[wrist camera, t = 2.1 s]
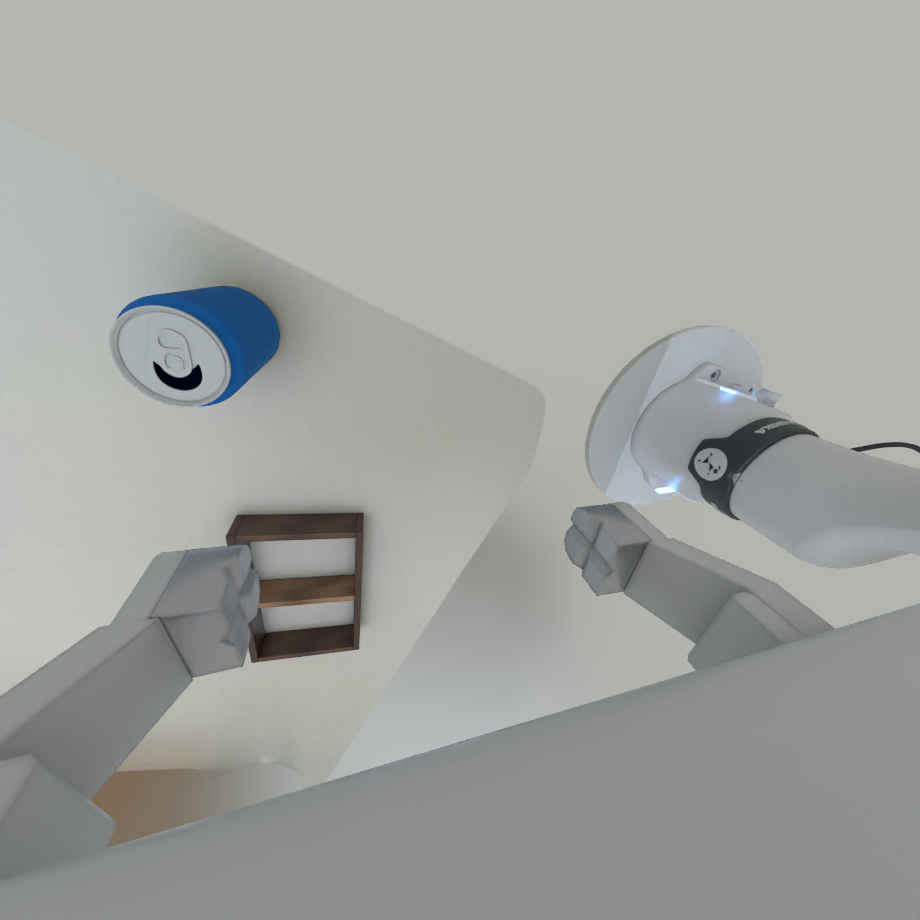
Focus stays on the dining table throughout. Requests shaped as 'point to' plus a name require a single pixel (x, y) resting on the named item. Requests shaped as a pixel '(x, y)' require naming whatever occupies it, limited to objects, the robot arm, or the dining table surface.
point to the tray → (302, 584)
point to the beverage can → (193, 344)
